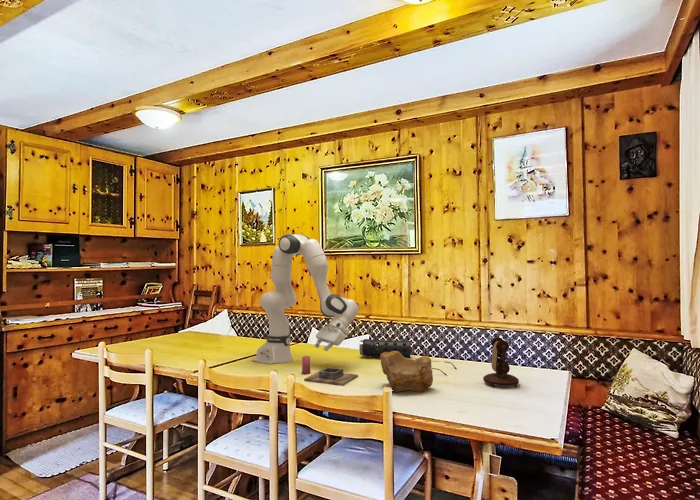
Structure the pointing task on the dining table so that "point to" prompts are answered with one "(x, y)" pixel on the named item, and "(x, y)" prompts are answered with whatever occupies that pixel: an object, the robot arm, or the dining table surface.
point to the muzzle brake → (384, 347)
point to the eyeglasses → (445, 362)
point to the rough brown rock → (407, 372)
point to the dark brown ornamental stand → (500, 365)
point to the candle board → (331, 377)
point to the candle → (306, 365)
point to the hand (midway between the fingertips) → (320, 348)
